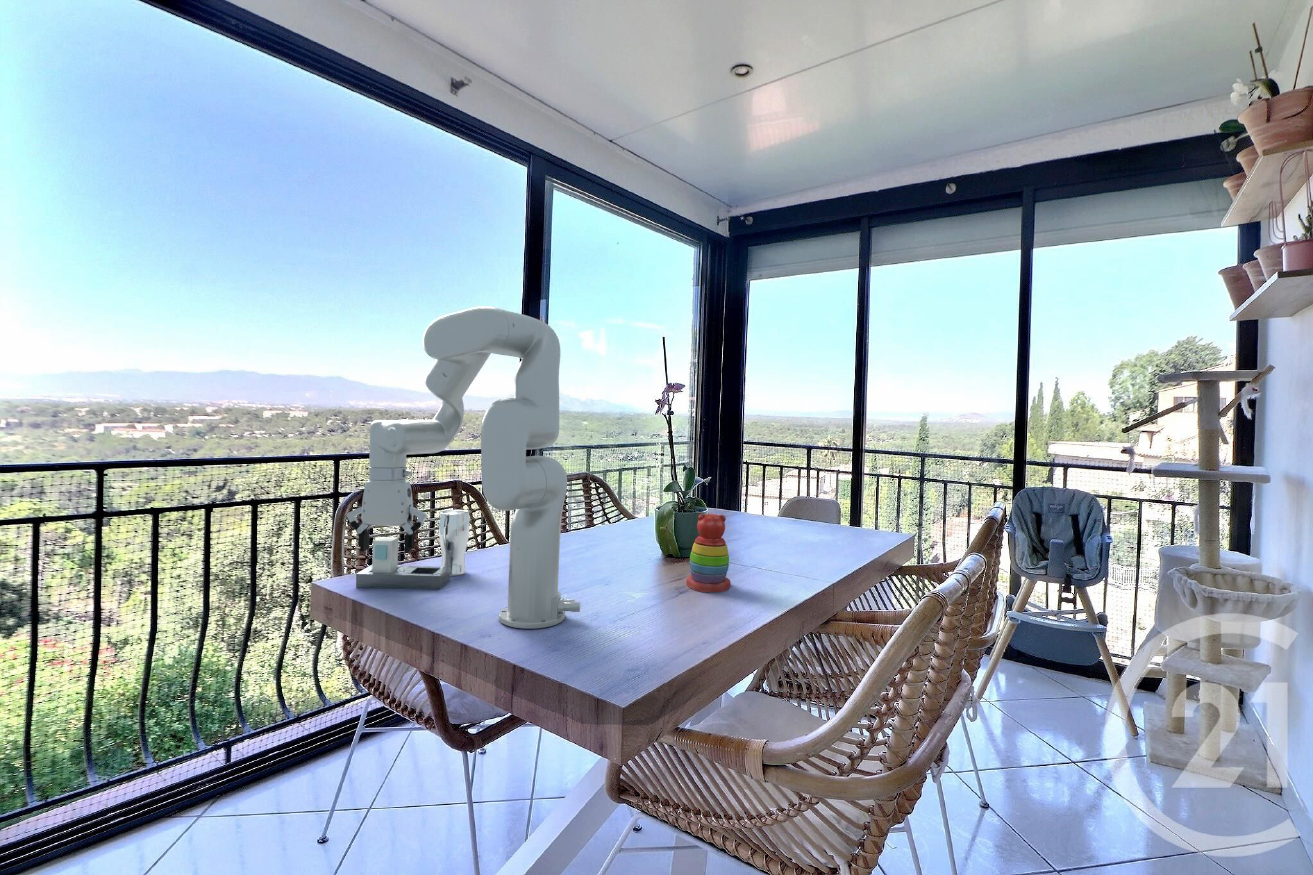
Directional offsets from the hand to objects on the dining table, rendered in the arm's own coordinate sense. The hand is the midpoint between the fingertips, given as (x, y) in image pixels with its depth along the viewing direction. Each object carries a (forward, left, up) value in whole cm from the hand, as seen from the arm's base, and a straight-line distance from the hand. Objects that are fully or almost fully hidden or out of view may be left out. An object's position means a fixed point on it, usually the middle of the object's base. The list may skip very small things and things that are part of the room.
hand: (386, 550), depth 135 cm
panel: (-4, 0, -7) cm, 8 cm away
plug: (0, 0, -8) cm, 8 cm away
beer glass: (-12, -10, -8) cm, 18 cm away
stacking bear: (-74, -4, -8) cm, 75 cm away
